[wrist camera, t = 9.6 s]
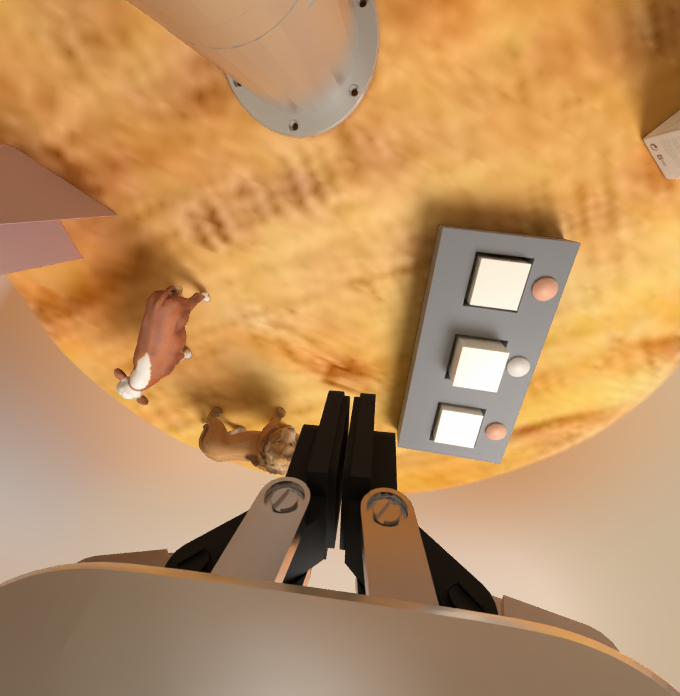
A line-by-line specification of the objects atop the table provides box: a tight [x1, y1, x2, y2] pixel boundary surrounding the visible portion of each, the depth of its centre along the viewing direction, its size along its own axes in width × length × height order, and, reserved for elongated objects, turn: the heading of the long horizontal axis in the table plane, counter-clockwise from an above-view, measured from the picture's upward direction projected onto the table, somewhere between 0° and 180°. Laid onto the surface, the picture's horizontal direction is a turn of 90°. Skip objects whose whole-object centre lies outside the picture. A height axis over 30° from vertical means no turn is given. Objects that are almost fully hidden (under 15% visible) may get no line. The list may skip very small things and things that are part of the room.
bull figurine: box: [114, 286, 210, 405], centre depth 36 cm, size 4×13×8 cm, turn 149°
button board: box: [397, 225, 581, 464], centre depth 35 cm, size 23×11×3 cm, turn 174°
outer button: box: [432, 402, 483, 448], centre depth 38 cm, size 4×4×4 cm
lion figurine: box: [199, 408, 300, 475], centre depth 40 cm, size 15×5×9 cm, turn 102°
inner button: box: [465, 253, 531, 311], centre depth 32 cm, size 4×4×4 cm
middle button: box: [447, 334, 509, 392], centre depth 33 cm, size 4×4×4 cm
